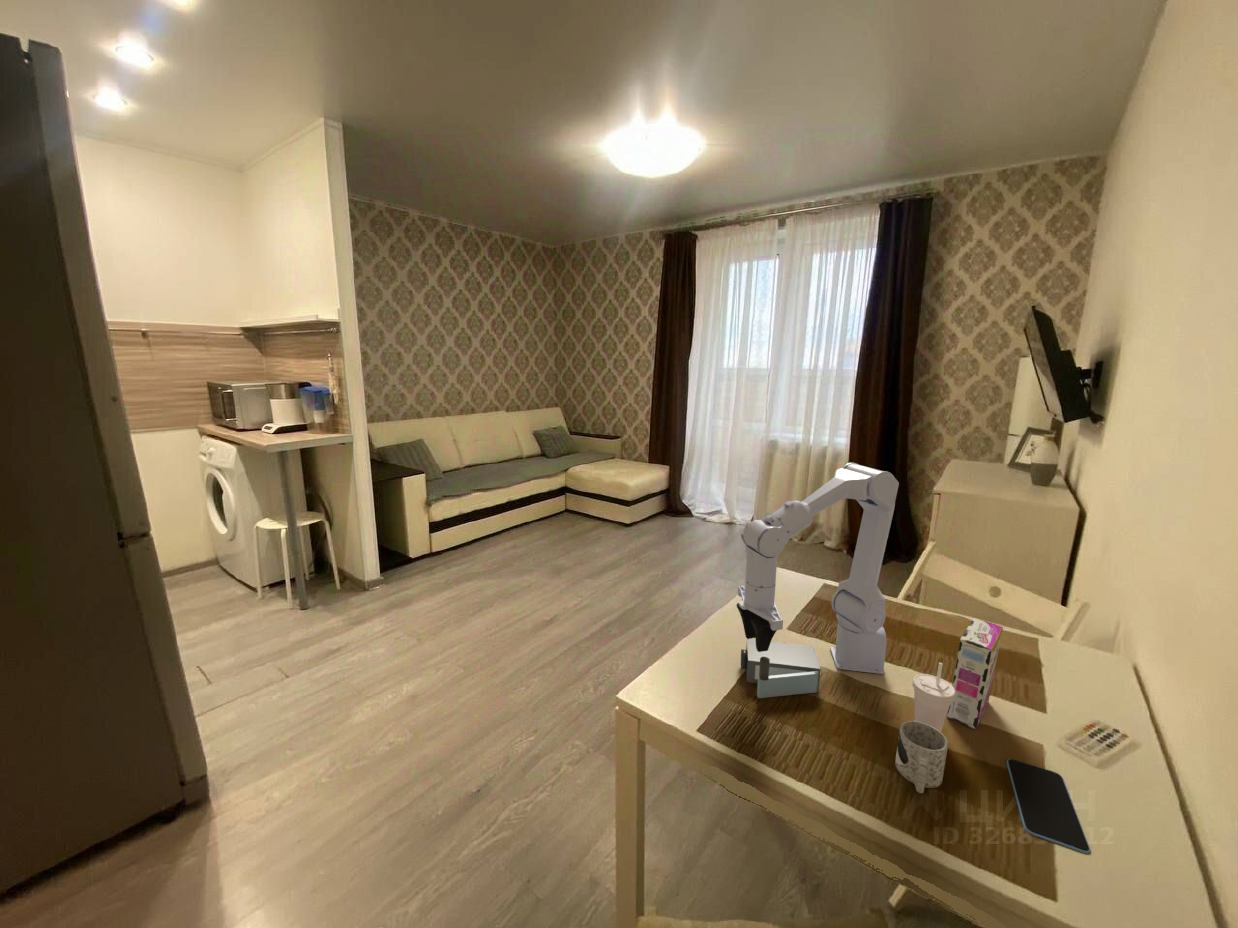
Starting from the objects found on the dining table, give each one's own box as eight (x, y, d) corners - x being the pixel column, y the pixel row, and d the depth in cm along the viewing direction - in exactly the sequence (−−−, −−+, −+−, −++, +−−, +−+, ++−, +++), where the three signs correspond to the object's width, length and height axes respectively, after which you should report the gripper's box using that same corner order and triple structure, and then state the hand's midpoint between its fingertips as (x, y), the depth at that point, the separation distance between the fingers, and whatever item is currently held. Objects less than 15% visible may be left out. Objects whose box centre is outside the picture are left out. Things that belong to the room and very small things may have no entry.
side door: (814, 688, 101) (817, 651, 99) (818, 694, 99) (822, 656, 97) (755, 694, 99) (758, 657, 97) (759, 700, 97) (761, 662, 95)
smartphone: (1025, 830, 71) (1005, 755, 83) (1024, 835, 71) (1004, 760, 84) (1094, 854, 67) (1062, 772, 80) (1093, 859, 67) (1061, 777, 80)
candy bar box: (978, 731, 89) (992, 650, 86) (945, 717, 93) (958, 638, 89) (990, 701, 97) (1004, 625, 93) (960, 689, 100) (972, 615, 97)
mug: (895, 748, 86) (900, 715, 84) (941, 764, 82) (947, 729, 81) (893, 792, 77) (898, 755, 76) (944, 811, 74) (950, 773, 73)
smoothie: (954, 748, 86) (966, 676, 83) (913, 743, 87) (923, 672, 84) (939, 722, 92) (949, 654, 89) (901, 717, 93) (910, 650, 90)
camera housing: (812, 666, 108) (813, 646, 107) (818, 690, 100) (820, 668, 99) (740, 658, 111) (741, 638, 110) (741, 681, 103) (742, 659, 102)
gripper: (725, 568, 103) (722, 627, 106) (759, 601, 90) (755, 668, 92) (756, 564, 105) (753, 623, 108) (795, 596, 91) (790, 662, 94)
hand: (756, 643), depth 100 cm, fingers open, 4 cm apart
